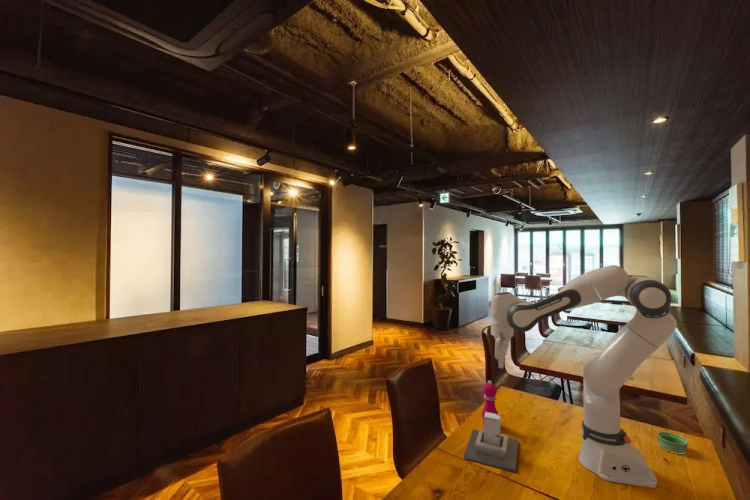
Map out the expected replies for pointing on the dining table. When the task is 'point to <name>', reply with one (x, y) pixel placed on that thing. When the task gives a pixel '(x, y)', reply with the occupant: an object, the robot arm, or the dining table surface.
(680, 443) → the ramekin
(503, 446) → the ring block
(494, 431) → the skincare box
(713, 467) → the dining table surface
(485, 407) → the pepper mill
